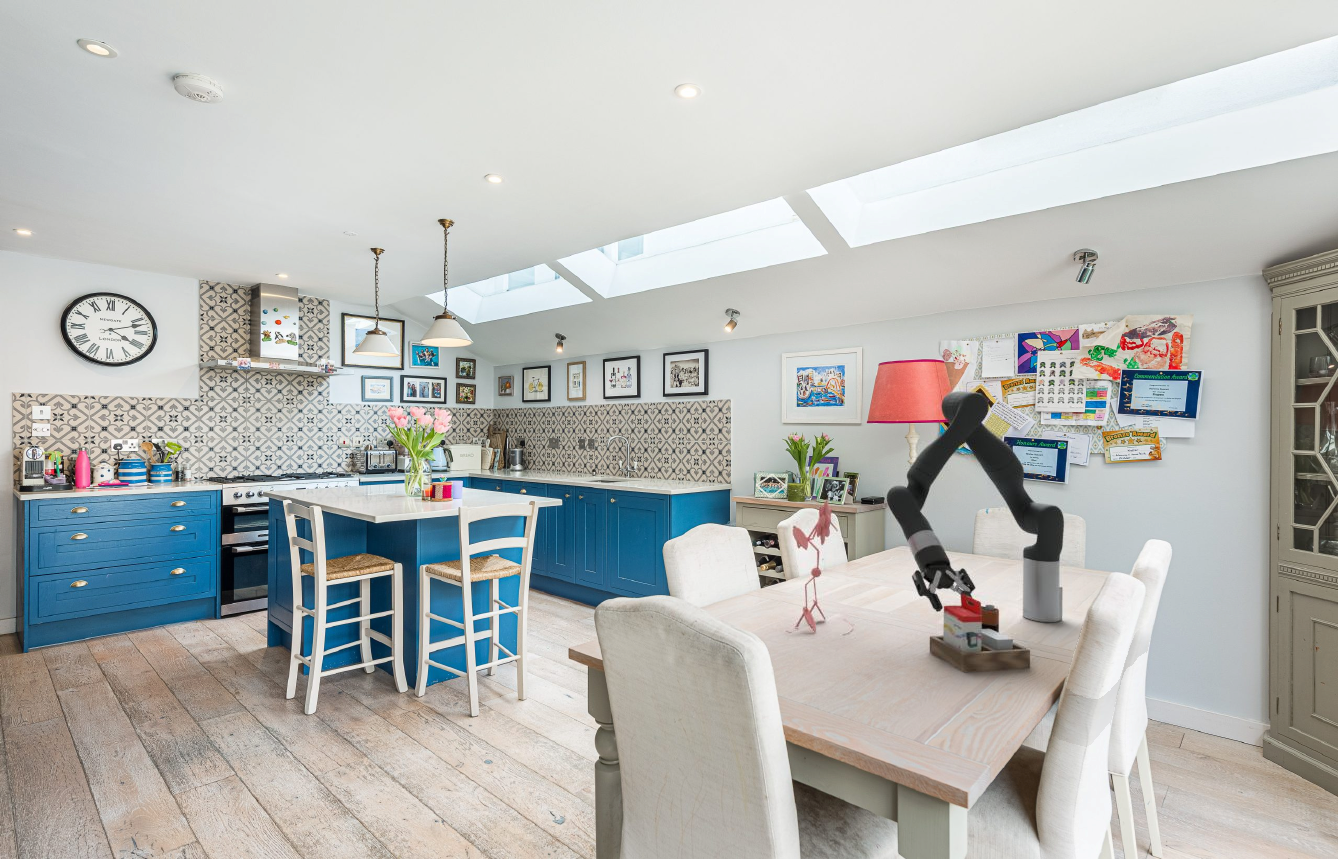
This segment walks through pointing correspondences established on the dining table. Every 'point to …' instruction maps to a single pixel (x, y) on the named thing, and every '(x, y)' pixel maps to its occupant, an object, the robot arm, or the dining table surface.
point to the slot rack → (980, 657)
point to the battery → (990, 618)
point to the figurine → (802, 540)
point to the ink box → (963, 625)
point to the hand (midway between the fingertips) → (956, 609)
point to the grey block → (996, 640)
